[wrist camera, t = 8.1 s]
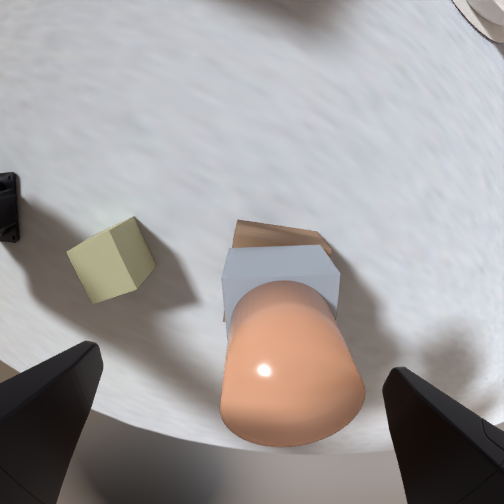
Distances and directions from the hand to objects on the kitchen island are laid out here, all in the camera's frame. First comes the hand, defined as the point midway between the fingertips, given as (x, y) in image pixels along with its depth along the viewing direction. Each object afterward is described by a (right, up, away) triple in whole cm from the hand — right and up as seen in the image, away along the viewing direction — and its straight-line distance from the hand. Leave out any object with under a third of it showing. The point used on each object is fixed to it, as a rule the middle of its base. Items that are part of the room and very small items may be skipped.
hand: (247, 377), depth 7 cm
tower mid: (+2, +1, +9) cm, 9 cm away
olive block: (-9, +4, +12) cm, 16 cm away
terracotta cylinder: (+1, 0, +5) cm, 5 cm away
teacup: (+23, +29, +4) cm, 37 cm away
